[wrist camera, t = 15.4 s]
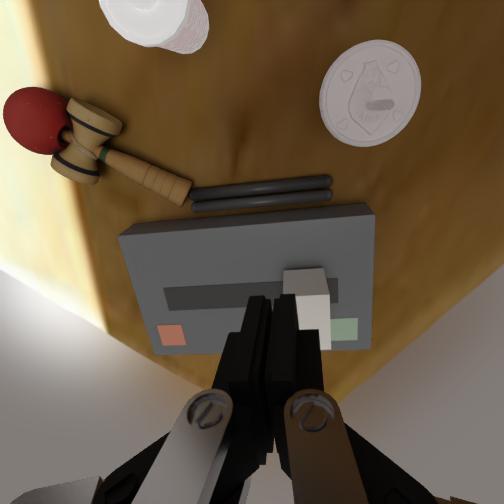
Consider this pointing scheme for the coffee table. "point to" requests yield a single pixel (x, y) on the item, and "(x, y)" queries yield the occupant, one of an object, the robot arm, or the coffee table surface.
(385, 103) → the smoothie
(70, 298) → the coffee table surface
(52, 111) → the kendama
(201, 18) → the beverage cup
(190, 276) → the switch panel
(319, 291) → the breaker knob
